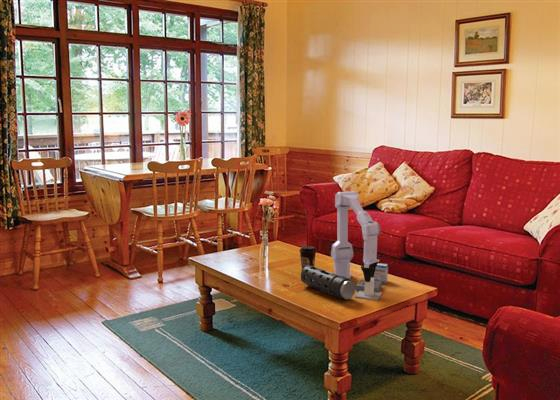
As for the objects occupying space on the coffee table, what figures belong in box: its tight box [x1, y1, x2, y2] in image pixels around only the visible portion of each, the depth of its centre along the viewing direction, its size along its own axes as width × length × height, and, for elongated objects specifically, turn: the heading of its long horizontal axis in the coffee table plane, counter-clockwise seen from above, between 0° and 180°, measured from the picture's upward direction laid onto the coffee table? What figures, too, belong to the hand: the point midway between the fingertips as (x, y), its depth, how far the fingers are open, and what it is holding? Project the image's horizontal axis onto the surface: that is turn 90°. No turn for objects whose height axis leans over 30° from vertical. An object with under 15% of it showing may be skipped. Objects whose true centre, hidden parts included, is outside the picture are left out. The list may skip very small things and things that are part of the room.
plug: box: [364, 278, 374, 296], centre depth 243 cm, size 4×4×8 cm
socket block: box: [355, 279, 383, 292], centre depth 253 cm, size 10×10×2 cm
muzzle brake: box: [300, 265, 356, 301], centre depth 246 cm, size 10×28×10 cm, turn 36°
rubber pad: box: [354, 290, 383, 301], centre depth 244 cm, size 10×10×1 cm
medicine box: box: [371, 262, 389, 284], centre depth 264 cm, size 8×4×9 cm, turn 70°
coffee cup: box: [299, 245, 317, 272], centre depth 279 cm, size 9×8×13 cm
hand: (369, 279), depth 243 cm, fingers open, 7 cm apart
